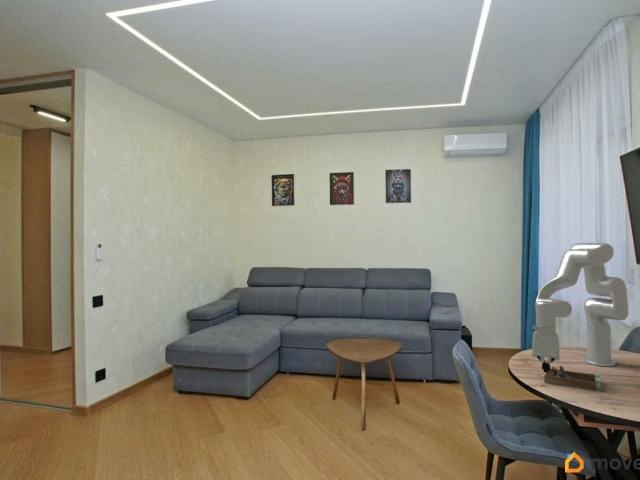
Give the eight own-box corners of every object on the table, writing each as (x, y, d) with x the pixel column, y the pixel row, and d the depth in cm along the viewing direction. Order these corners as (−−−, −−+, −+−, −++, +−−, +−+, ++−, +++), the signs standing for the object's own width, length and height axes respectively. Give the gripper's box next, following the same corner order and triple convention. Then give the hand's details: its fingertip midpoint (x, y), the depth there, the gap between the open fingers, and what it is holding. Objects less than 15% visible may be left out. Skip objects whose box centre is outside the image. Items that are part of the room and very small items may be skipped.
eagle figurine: (544, 374, 171) (560, 378, 162) (549, 360, 173) (566, 363, 164) (557, 383, 172) (574, 387, 163) (563, 368, 173) (580, 372, 165)
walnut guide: (546, 374, 176) (545, 365, 176) (599, 382, 165) (599, 372, 165) (544, 382, 166) (544, 373, 166) (600, 391, 155) (600, 381, 155)
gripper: (525, 329, 171) (525, 371, 171) (565, 333, 163) (566, 377, 163) (527, 326, 178) (527, 366, 177) (566, 330, 169) (566, 372, 169)
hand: (546, 371), depth 170 cm, fingers closed
